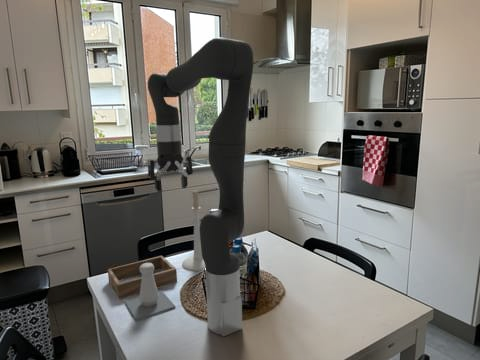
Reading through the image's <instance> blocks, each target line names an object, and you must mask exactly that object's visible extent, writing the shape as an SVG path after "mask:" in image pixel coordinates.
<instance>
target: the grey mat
mask: <svg viewBox="0 0 480 360" xmlns="http://www.w3.org/2000/svg"><path fill="white" fill-rule="evenodd" d="M158 294H159V297H158V300H157V303H156V304H155V305H154V306H151V307H145V306H143V305H142V303H141V302H140V299H139V296H137V297H133V298H130V299H127V300H124V304H125V305H126V307H127V309H128V310H129V312H130V313H131V315H132V317H133V318H134V320H135V322H139V321H141V320H143V319H148V318H149V317H153V316H156V315H159V314H161V313H164V312H167V311H170V310H174V309H176V305H175V304H174V303H173V302H172V301H171V300H170V298H169V297H168V296H167V294H165V292H164V291H163V290H162V289H160V290H158Z"/></svg>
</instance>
